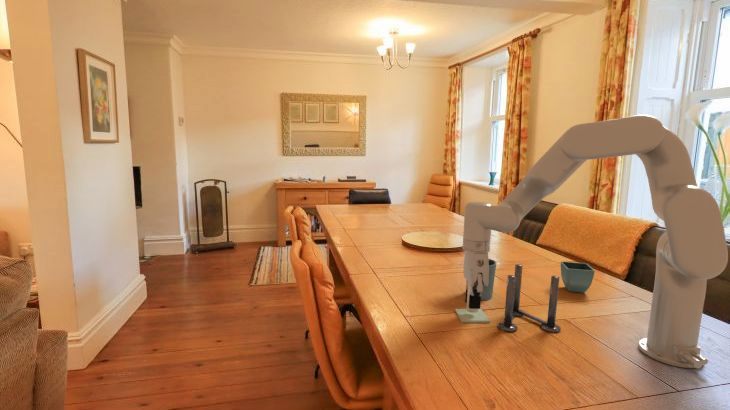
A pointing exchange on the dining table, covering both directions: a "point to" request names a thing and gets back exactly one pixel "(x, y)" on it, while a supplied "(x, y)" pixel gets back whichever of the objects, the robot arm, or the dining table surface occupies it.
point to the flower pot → (577, 276)
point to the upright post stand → (514, 310)
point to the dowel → (468, 299)
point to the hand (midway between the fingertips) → (472, 304)
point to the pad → (472, 316)
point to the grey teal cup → (489, 281)
